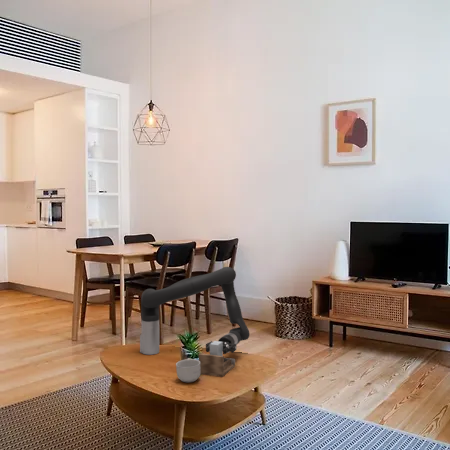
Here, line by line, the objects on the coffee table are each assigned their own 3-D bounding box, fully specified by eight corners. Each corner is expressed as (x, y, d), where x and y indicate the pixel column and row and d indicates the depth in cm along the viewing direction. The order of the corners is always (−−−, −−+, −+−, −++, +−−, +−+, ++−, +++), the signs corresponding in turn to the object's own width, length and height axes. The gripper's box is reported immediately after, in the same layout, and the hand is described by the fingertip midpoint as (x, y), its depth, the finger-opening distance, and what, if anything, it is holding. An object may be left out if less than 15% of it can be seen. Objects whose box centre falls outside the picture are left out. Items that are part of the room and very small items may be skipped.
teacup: (197, 385, 211) (197, 367, 211) (173, 383, 213) (173, 365, 212) (204, 374, 225) (204, 357, 224) (181, 373, 227) (181, 355, 226)
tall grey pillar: (209, 369, 228) (209, 344, 228) (214, 365, 234) (214, 340, 233) (217, 370, 227) (217, 345, 226) (222, 366, 232) (222, 341, 232)
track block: (198, 373, 226) (198, 354, 225) (212, 363, 241) (212, 345, 240) (222, 376, 221) (222, 357, 221) (235, 366, 236) (235, 347, 236)
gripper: (214, 333, 246) (201, 341, 231) (241, 336, 241) (229, 344, 226) (214, 348, 246) (201, 357, 231) (241, 351, 241) (229, 360, 226)
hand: (215, 351), depth 229 cm, fingers open, 8 cm apart
